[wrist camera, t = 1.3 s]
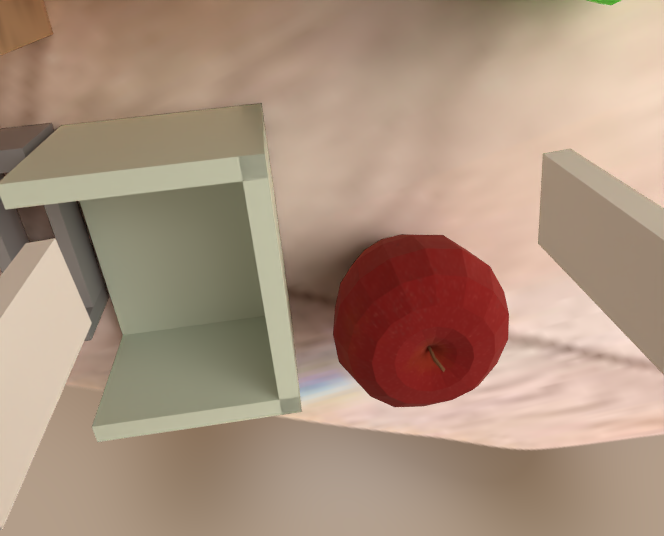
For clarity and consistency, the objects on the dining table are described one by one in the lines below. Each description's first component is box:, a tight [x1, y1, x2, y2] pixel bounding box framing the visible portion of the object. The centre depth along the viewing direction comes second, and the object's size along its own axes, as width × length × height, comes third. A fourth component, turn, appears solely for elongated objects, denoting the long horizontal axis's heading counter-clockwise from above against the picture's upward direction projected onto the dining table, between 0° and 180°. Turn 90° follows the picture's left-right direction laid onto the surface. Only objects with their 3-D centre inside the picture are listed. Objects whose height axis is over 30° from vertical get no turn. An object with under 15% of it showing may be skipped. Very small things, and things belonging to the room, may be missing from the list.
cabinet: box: [0, 103, 302, 442], centre depth 34 cm, size 16×17×10 cm
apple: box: [333, 234, 509, 407], centre depth 37 cm, size 11×11×12 cm
